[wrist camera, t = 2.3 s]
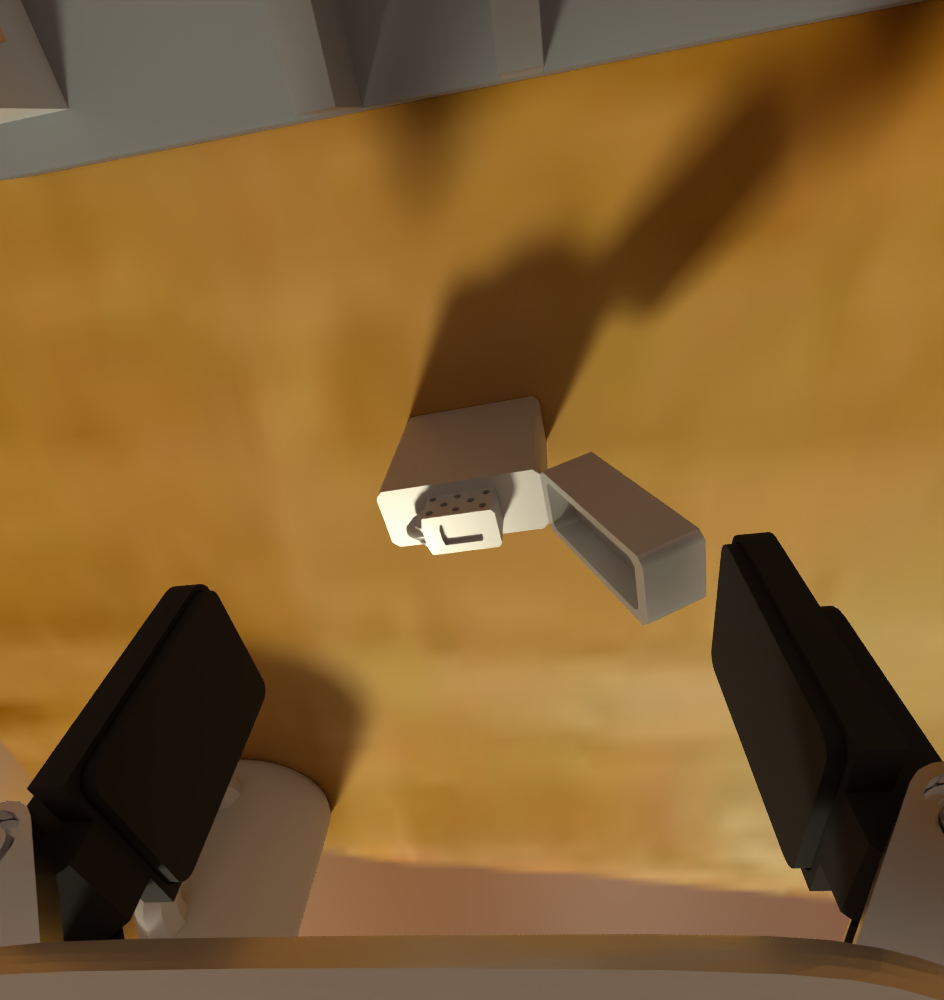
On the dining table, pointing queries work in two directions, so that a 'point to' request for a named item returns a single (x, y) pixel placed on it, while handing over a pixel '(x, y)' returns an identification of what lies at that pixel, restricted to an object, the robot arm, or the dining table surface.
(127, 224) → the dining table surface
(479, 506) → the lighter
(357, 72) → the grey holder rack
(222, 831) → the cup
